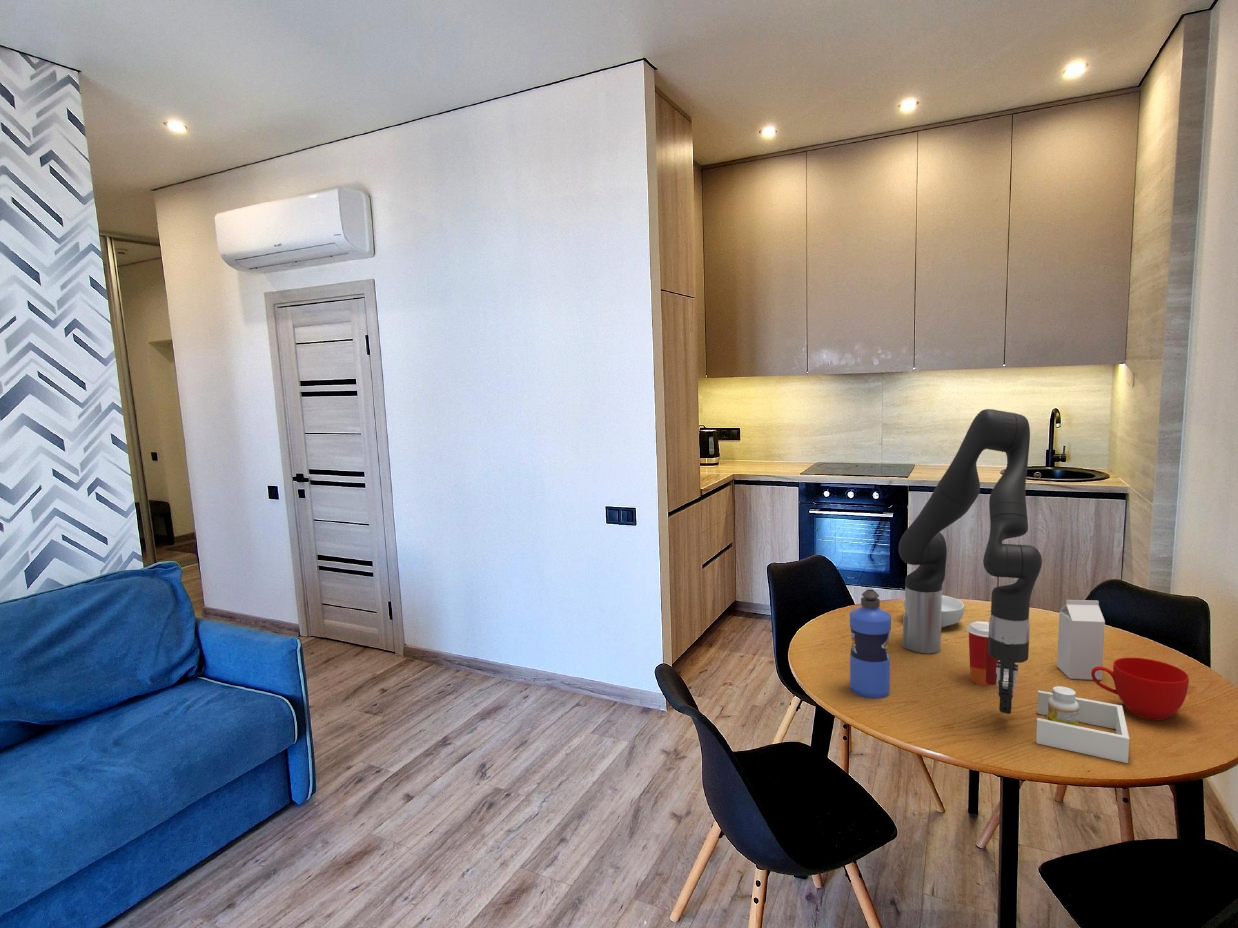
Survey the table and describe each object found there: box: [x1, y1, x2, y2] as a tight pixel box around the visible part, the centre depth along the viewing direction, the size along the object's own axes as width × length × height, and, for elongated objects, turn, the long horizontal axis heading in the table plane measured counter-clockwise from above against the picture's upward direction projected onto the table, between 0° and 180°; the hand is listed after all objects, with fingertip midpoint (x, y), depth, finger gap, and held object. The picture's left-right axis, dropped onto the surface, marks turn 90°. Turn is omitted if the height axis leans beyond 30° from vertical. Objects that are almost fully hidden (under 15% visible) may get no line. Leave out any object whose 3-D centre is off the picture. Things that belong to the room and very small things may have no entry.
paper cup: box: [966, 620, 999, 687], centre depth 164 cm, size 8×8×14 cm
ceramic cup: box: [1091, 656, 1190, 721], centre depth 147 cm, size 13×17×10 cm
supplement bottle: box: [1047, 685, 1079, 726], centre depth 139 cm, size 5×5×10 cm
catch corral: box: [1035, 690, 1130, 764], centre depth 138 cm, size 15×15×5 cm
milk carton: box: [1056, 599, 1106, 681], centre depth 165 cm, size 7×7×19 cm
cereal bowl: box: [903, 594, 965, 629], centre depth 203 cm, size 17×17×7 cm
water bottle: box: [849, 588, 892, 700], centre depth 160 cm, size 9×9×25 cm
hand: (1005, 711), depth 144 cm, fingers closed
